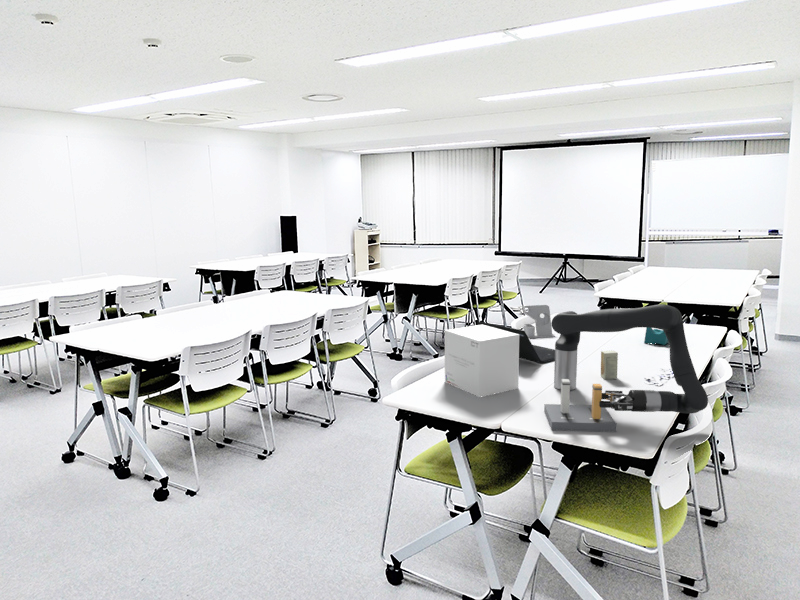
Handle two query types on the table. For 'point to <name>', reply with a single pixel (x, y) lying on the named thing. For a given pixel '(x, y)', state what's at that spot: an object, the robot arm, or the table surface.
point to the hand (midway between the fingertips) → (596, 400)
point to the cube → (482, 359)
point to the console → (578, 418)
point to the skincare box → (609, 364)
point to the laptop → (527, 346)
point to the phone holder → (538, 321)
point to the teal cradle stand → (655, 336)
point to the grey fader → (565, 395)
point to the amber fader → (596, 401)
